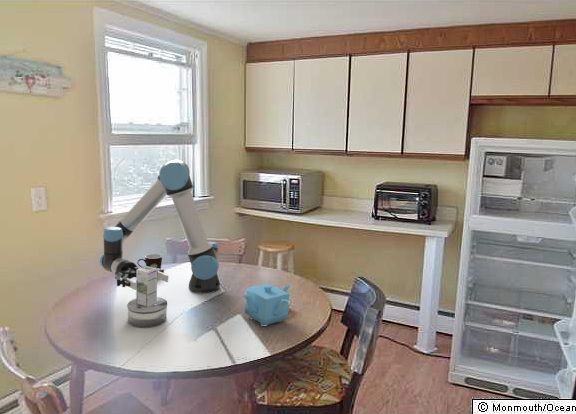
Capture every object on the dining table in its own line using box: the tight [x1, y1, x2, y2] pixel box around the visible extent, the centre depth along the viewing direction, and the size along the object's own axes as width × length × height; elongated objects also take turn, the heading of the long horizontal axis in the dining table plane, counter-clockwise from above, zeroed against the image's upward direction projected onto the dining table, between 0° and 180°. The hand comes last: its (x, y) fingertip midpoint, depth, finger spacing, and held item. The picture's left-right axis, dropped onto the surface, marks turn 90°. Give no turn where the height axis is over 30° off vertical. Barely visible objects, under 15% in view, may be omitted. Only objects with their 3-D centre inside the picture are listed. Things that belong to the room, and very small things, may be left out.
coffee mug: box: [136, 253, 163, 269], centre depth 217 cm, size 12×9×10 cm
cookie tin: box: [126, 296, 168, 329], centre depth 165 cm, size 15×15×7 cm
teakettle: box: [241, 283, 292, 325], centre depth 171 cm, size 19×19×15 cm
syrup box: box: [135, 265, 158, 307], centre depth 163 cm, size 6×6×14 cm
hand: (152, 282), depth 160 cm, fingers open, 13 cm apart
